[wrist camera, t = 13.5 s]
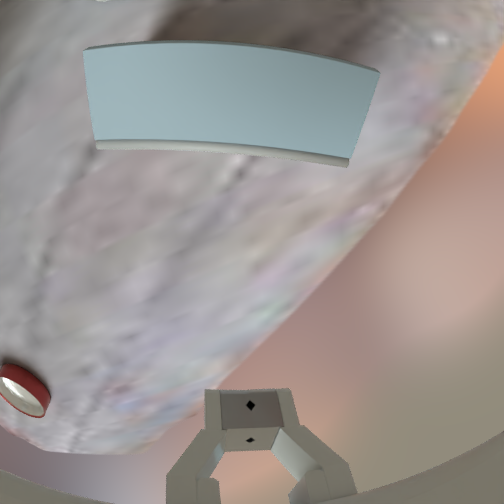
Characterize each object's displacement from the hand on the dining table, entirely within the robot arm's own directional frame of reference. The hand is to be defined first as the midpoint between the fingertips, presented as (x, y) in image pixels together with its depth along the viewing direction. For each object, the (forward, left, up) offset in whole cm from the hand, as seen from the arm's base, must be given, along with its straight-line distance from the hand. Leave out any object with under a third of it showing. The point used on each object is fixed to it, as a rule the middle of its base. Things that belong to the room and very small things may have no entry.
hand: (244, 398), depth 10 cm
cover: (-2, +10, -16) cm, 19 cm away
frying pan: (-51, -42, -26) cm, 71 cm away
